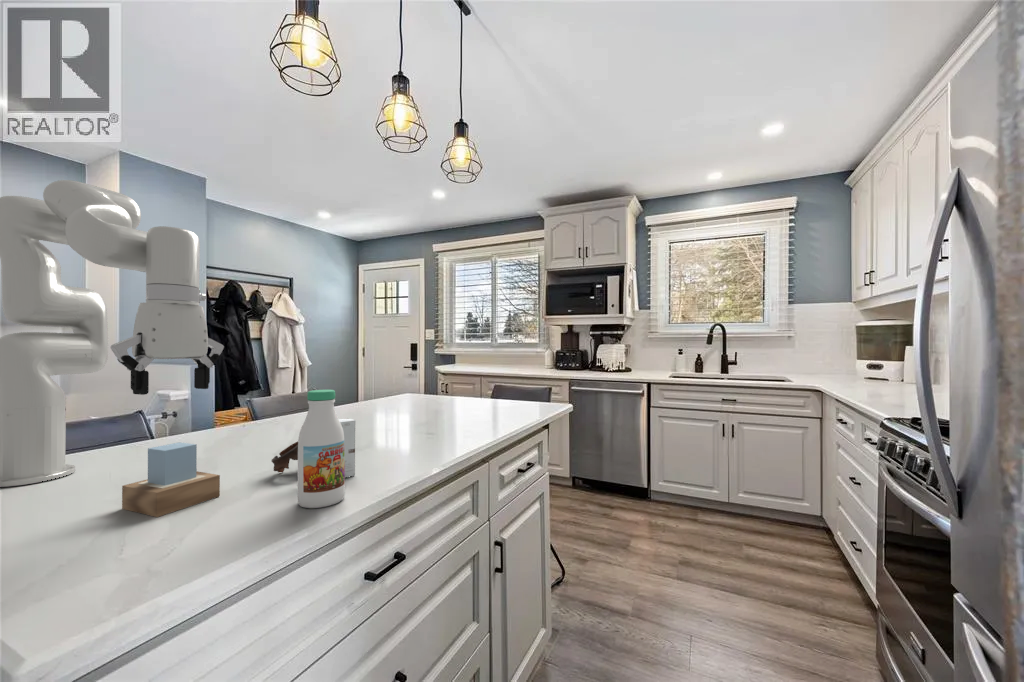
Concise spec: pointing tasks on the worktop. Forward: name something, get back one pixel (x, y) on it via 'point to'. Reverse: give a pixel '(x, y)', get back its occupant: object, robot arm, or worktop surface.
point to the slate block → (172, 463)
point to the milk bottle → (321, 453)
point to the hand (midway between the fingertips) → (172, 391)
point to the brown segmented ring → (285, 457)
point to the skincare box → (349, 445)
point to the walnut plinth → (169, 494)
